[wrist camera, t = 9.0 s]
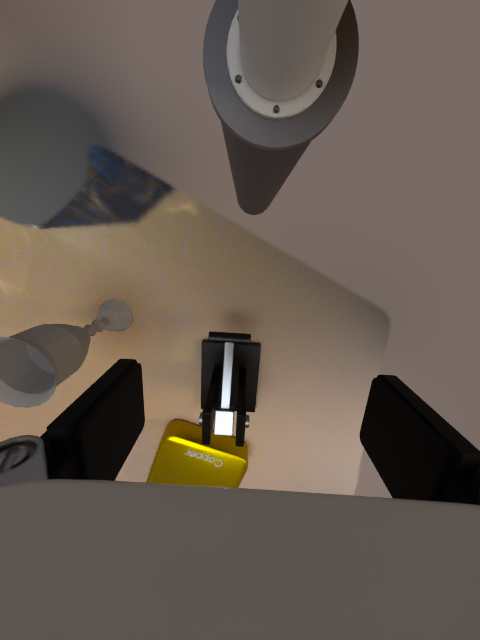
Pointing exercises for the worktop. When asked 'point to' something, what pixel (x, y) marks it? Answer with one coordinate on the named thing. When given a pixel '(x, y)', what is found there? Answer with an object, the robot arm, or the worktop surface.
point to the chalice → (50, 355)
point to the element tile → (198, 458)
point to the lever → (227, 379)
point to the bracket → (241, 385)
